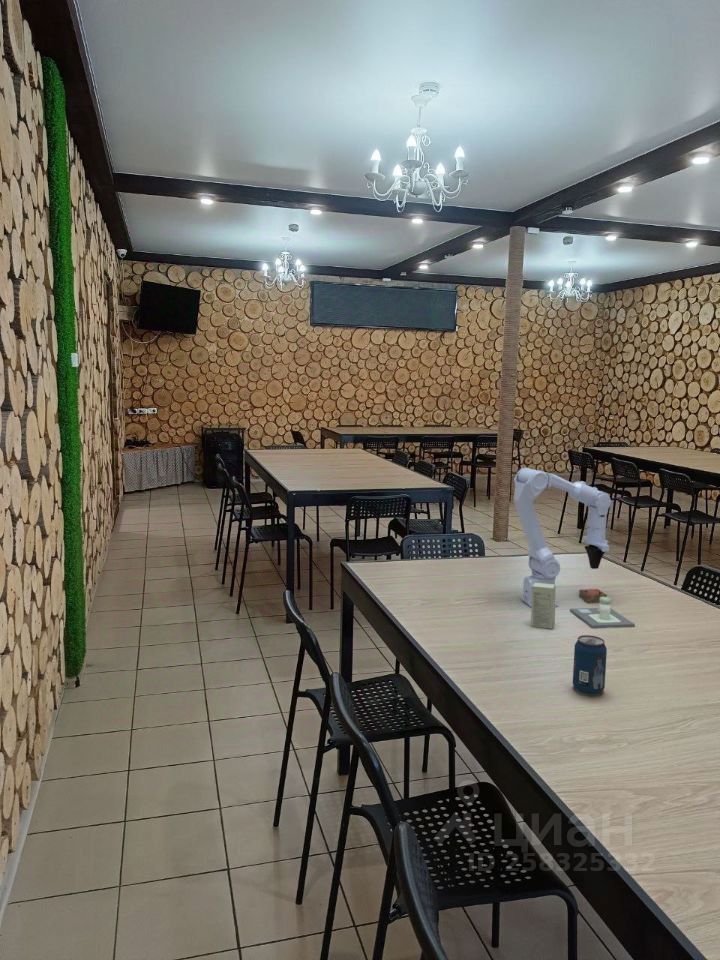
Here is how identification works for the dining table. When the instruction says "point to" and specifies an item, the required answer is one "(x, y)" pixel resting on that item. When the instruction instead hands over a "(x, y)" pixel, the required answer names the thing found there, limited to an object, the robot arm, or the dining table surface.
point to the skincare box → (543, 605)
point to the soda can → (589, 665)
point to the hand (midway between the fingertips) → (594, 568)
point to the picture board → (594, 621)
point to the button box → (591, 596)
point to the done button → (592, 591)
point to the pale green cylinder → (605, 607)
